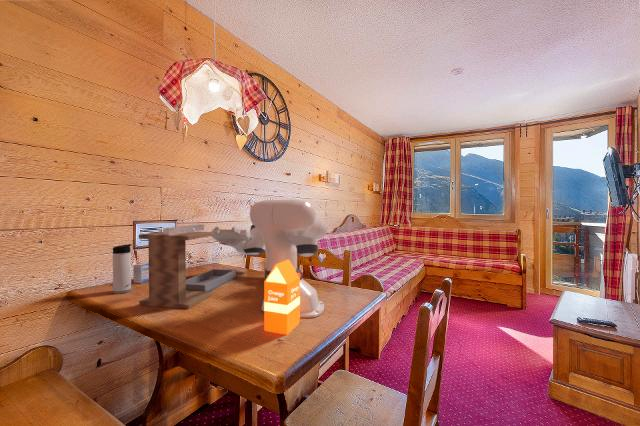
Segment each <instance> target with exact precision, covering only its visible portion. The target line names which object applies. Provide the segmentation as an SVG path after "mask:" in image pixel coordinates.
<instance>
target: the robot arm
mask: <svg viewBox="0 0 640 426" xmlns="http://www.w3.org/2000/svg"><path fill="white" fill-rule="evenodd" d="M249 218H250V219H249V220H250V222H251V226H250V229H239V228H236V226H235V227H232V228H231V229H228V228H227V229H226V228H223V229H222V228H220V227H218V226H215V227H214V228H213V229H212V230H211V232H212V236H211V238H212V239H214V240H215V241H217V242H218V243H219V244H220V245H224V246H229V247H230V248H231V247H232V248H233V249H235V251H237V252H238V253H240V254H242V255H245V256H246V255H248V256H252V257H253V256H254V257H256V256H257V257H258V256H260V255H262V254H264V252H265V269H264V275H263V277H264V281H265V280H266V279H267V277H268V276H269V274H270V273H271V271H272V269H273V268H274V266H275V265H276V264H278V263H280V262H283V261H285V260H288V259H289V261H290V262H291V264H292V266H293V267H294V269H295V271H296V272H297V274H298V276H299V277H300V318H317V317H318V316H320V315H322V314H323V312H324V310H325V304H324V302H323V301H322V300H319V298H318V297H319V296H318V292H317V289H316V288H315V287H313V285H311V284H309V283H308V282H307V281H305V280H304V279H303V273H304V270H303V269H301V270H300V269H299V268H298V256H301V257H304V258H305V257H306V258H308V257H312V256H314V255H316V254H317V252H318V249H319V246H318V243H319V240H320V239H323V238H324V237H325V236H326V234H327V232H328V224H327V223H326V221H325V220H324V219H323V218H322V217H321V216H319V214H316V210H315V208H314V206H313V204H311V203H310V202H308V201H305V200H301V199H265V200H260V201H257V202H255V203H253V205H252V206H251V208H250V211H249ZM261 304H262V305H261V311H263V313H264V299H263V300H262V303H261Z"/></svg>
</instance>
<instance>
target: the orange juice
mask: <svg viewBox="0 0 640 426" xmlns="http://www.w3.org/2000/svg"><path fill="white" fill-rule="evenodd" d="M263 285H264V295H263V300H264V312H263V313H264V316H263V317H264V318H263V319H264V322H263V323H264V325H263V326H264V328H263V329H264V330H263V331H265V332H270V333H274V334H281V335H289V334H290V333H291V332H292V331H293V330H294V329H295V328H296V327H297V326H299V324H300V319H301V317H300V277H299V276H298V274H297V272H296V271H295V269H294V267H293V266H292V264H291V262H290V261H289V259H288V260H285V261H283V262H280V263H278V264H276V265H275V266H274V268H273V269H272V271H271V273H270V274H269V276H268V277H267V279H266V280H264V283H263Z"/></svg>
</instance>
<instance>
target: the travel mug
mask: <svg viewBox="0 0 640 426" xmlns="http://www.w3.org/2000/svg"><path fill="white" fill-rule="evenodd" d="M132 245H133V244H132V243H128V244H121V245H117V246H116V245H115V246H114V247H112V293H113V294H117V295H118V294H119V295H121V294H125V293H129V292H131V291H132V262H131V261H132V259H131V258H132V255H131V254H132V251H131V247H132Z"/></svg>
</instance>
